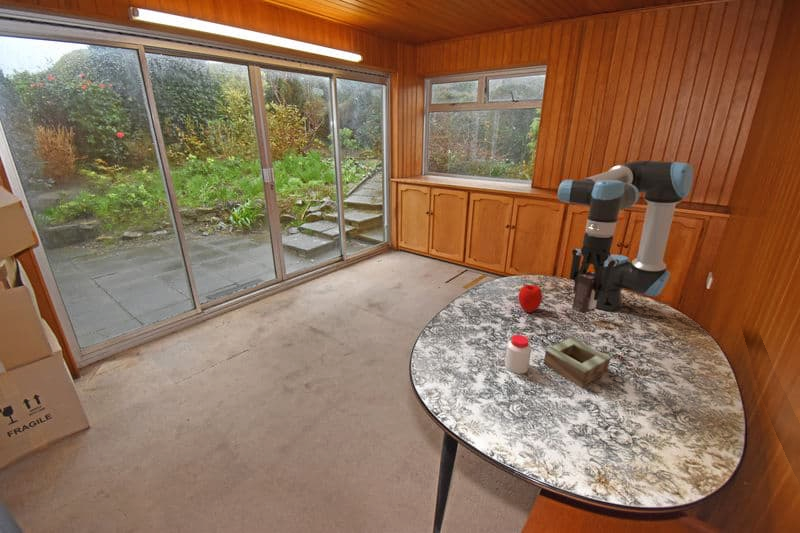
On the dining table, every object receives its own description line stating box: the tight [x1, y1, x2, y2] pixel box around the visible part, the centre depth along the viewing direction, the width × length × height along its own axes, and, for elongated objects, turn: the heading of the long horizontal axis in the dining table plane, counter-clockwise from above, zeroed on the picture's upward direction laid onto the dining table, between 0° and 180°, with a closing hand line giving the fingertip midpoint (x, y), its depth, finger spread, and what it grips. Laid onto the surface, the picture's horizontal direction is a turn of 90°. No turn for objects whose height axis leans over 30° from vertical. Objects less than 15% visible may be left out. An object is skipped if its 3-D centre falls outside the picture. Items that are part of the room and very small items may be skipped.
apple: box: [517, 284, 543, 313], centre depth 154 cm, size 10×10×12 cm
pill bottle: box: [504, 334, 532, 375], centre depth 117 cm, size 8×8×11 cm
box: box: [572, 271, 595, 314], centre depth 109 cm, size 6×4×12 cm
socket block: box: [543, 337, 611, 388], centre depth 117 cm, size 14×14×6 cm
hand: (584, 304), depth 111 cm, fingers closed on box, 4 cm apart
